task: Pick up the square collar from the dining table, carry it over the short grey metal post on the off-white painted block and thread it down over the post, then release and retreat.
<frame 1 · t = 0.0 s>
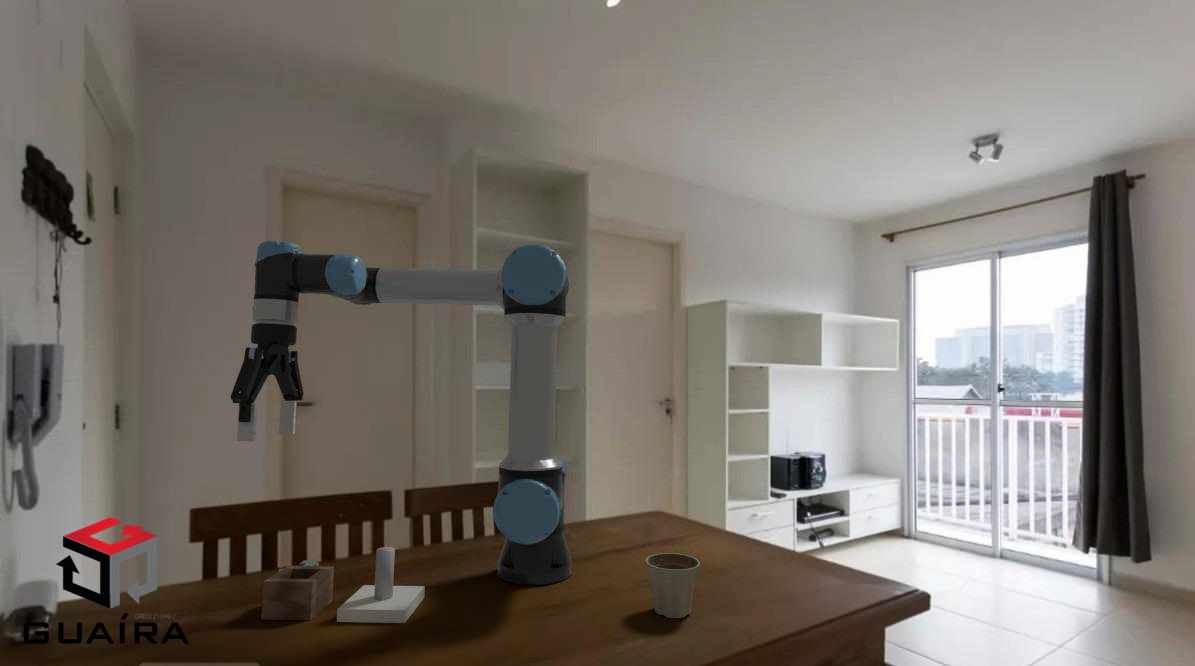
hand: (267, 437, 109), 28 cm above the table, fingers open, 13 cm apart
collar: (298, 610, 99), on the table
flower pot: (672, 613, 101), on the table
post block: (382, 609, 100), on the table
clamp: (298, 584, 113), on the table
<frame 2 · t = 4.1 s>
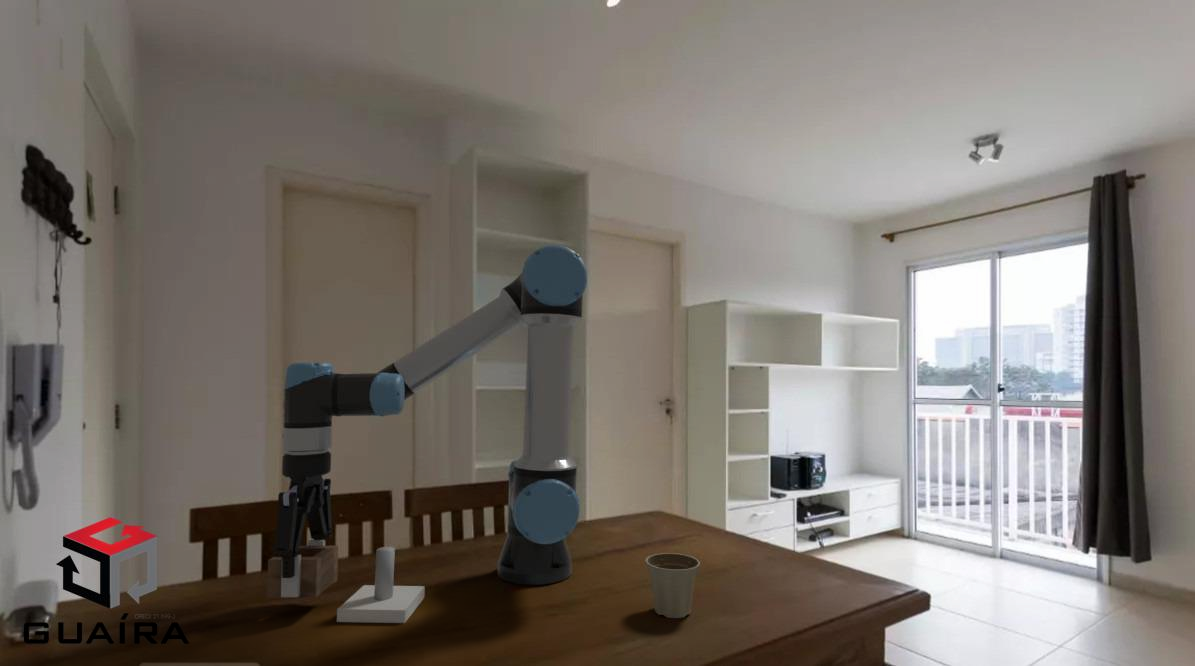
hand: (303, 586, 99), 4 cm above the table, fingers closed on collar, 8 cm apart
collar: (303, 588, 99), point 3 cm above the table, touching gripper
everything else where it was.
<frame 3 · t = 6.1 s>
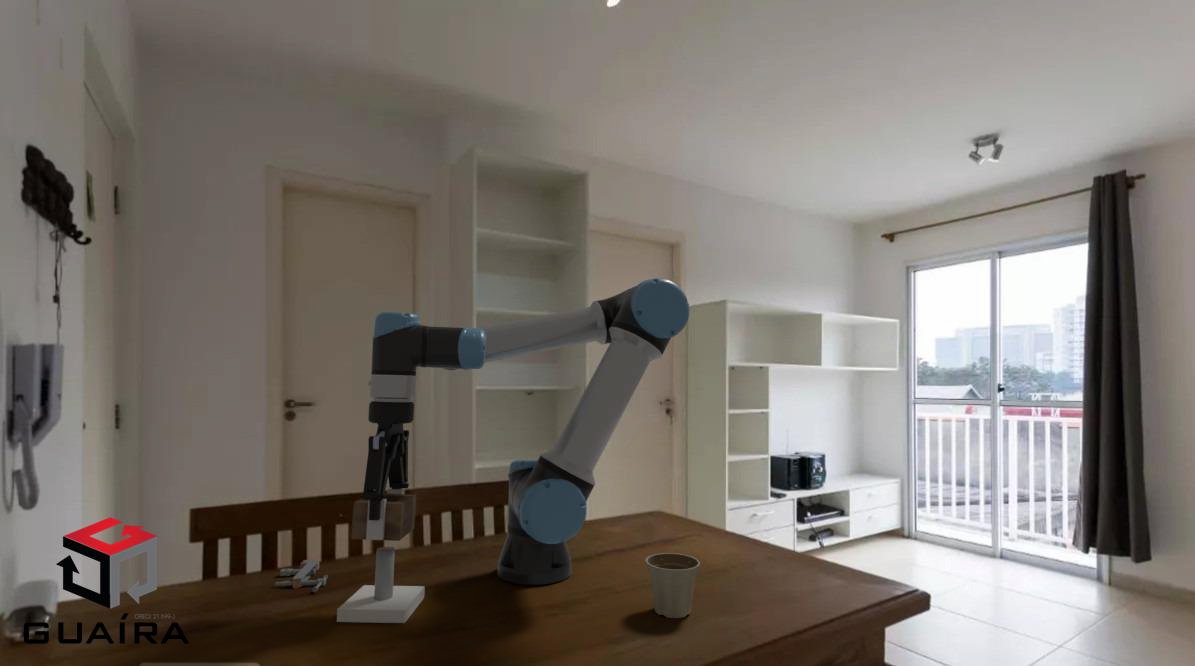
hand: (384, 532, 101), 13 cm above the table, fingers closed on collar, 8 cm apart
collar: (383, 533, 101), point 13 cm above the table, touching gripper
everything else where it was.
when the fingers open (3 cm above the table, at t = 8.3 s): collar stays where it is, resting on post block.
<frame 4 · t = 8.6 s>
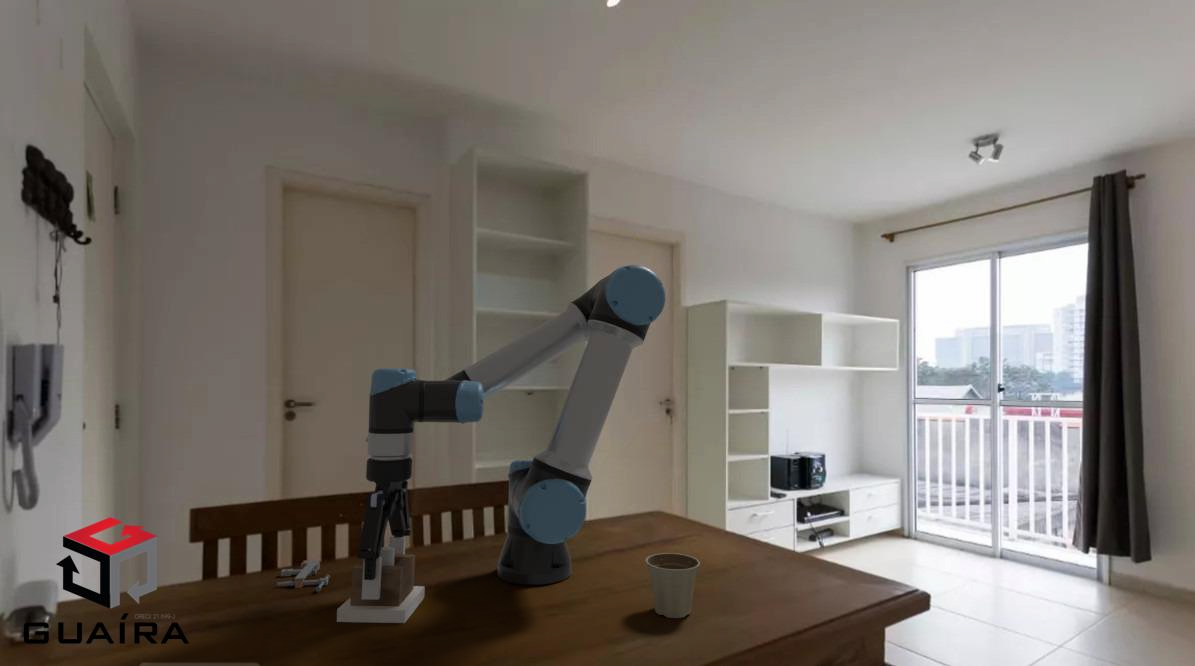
hand: (384, 585, 100), 4 cm above the table, fingers open, 11 cm apart
collar: (383, 597, 100), point 2 cm above the table, touching post block
everything else where it was.
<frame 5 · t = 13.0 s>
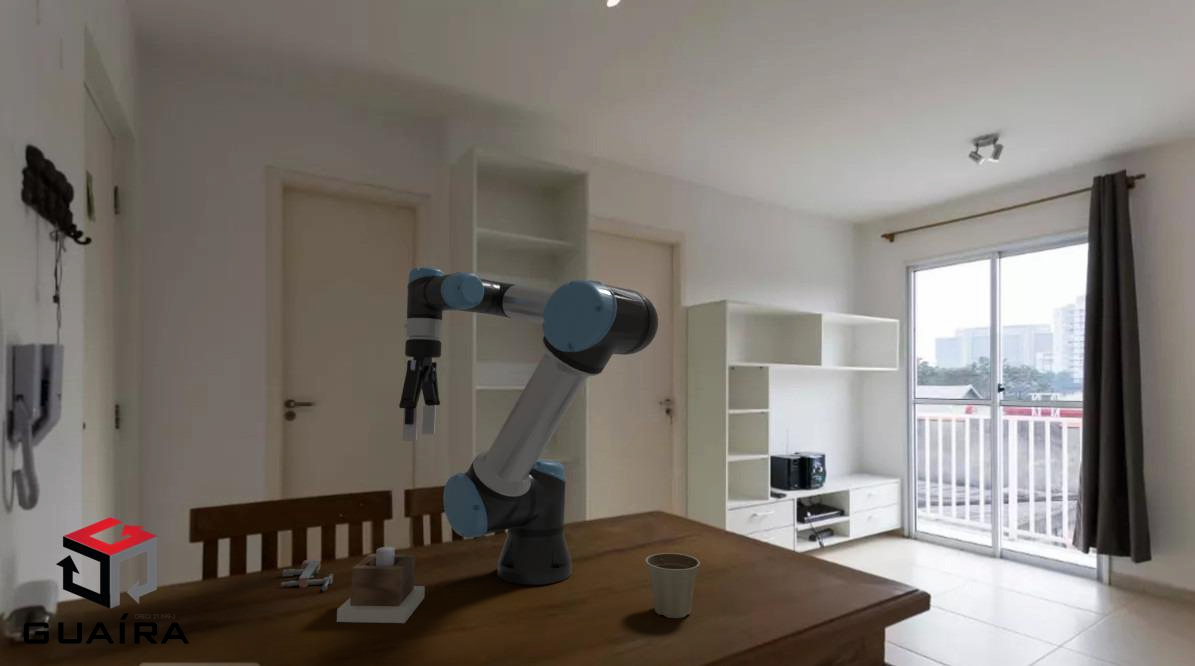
hand: (419, 437, 126), 27 cm above the table, fingers open, 13 cm apart
at the end: collar 0.1 cm off-centre on the post block, point 2.0 cm above the post block's base; collar tilted 0°; the gripper is holding nothing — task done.
